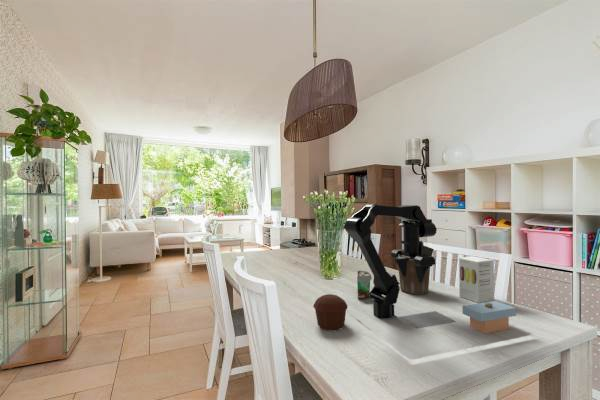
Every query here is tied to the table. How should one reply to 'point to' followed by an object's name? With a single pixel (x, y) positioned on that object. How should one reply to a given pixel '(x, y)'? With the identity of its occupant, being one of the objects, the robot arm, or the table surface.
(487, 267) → the supplement box
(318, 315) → the muffin
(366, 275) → the food container
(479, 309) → the lid
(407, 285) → the plant pot
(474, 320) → the orange open box
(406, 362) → the table surface
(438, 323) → the mat
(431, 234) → the robot arm
